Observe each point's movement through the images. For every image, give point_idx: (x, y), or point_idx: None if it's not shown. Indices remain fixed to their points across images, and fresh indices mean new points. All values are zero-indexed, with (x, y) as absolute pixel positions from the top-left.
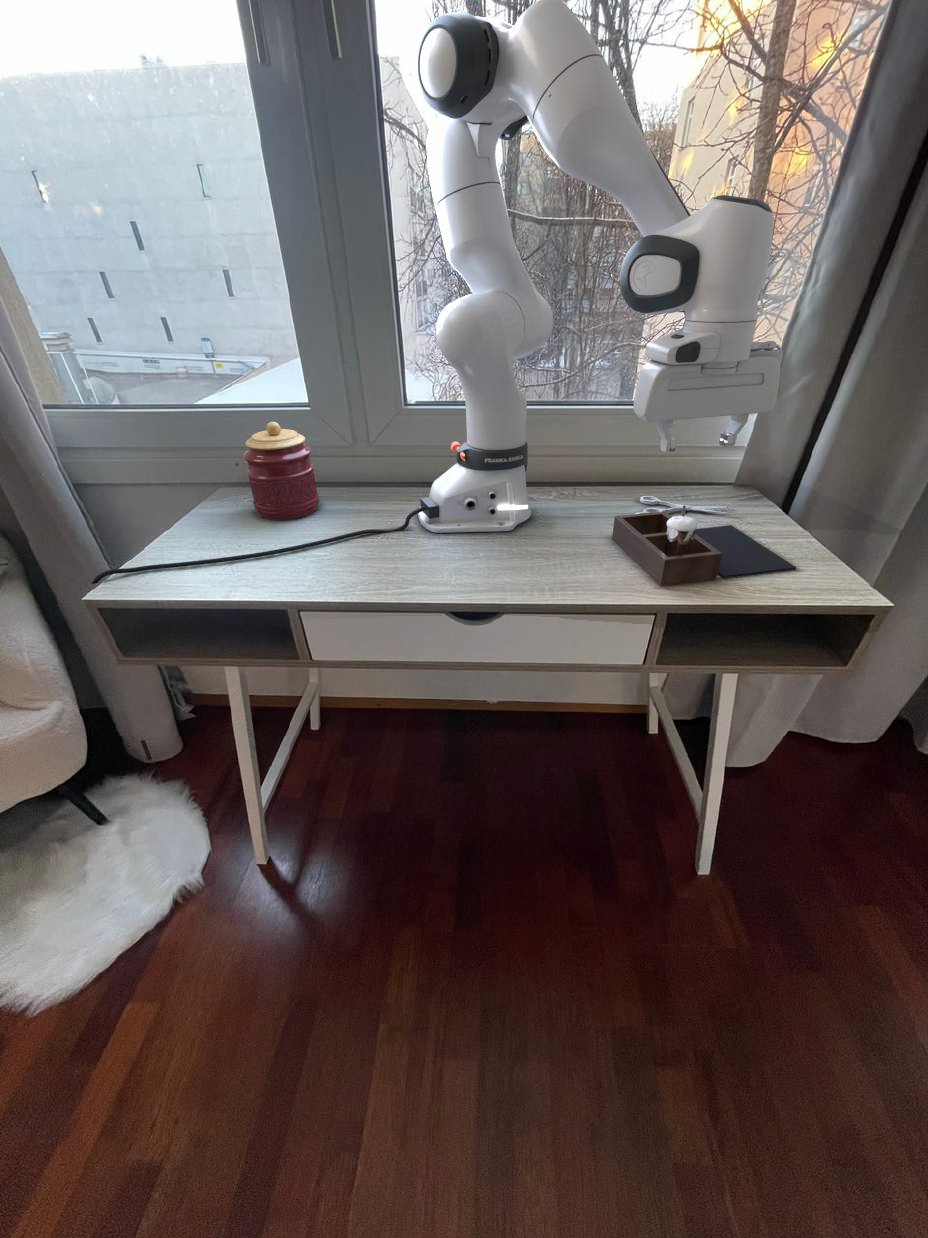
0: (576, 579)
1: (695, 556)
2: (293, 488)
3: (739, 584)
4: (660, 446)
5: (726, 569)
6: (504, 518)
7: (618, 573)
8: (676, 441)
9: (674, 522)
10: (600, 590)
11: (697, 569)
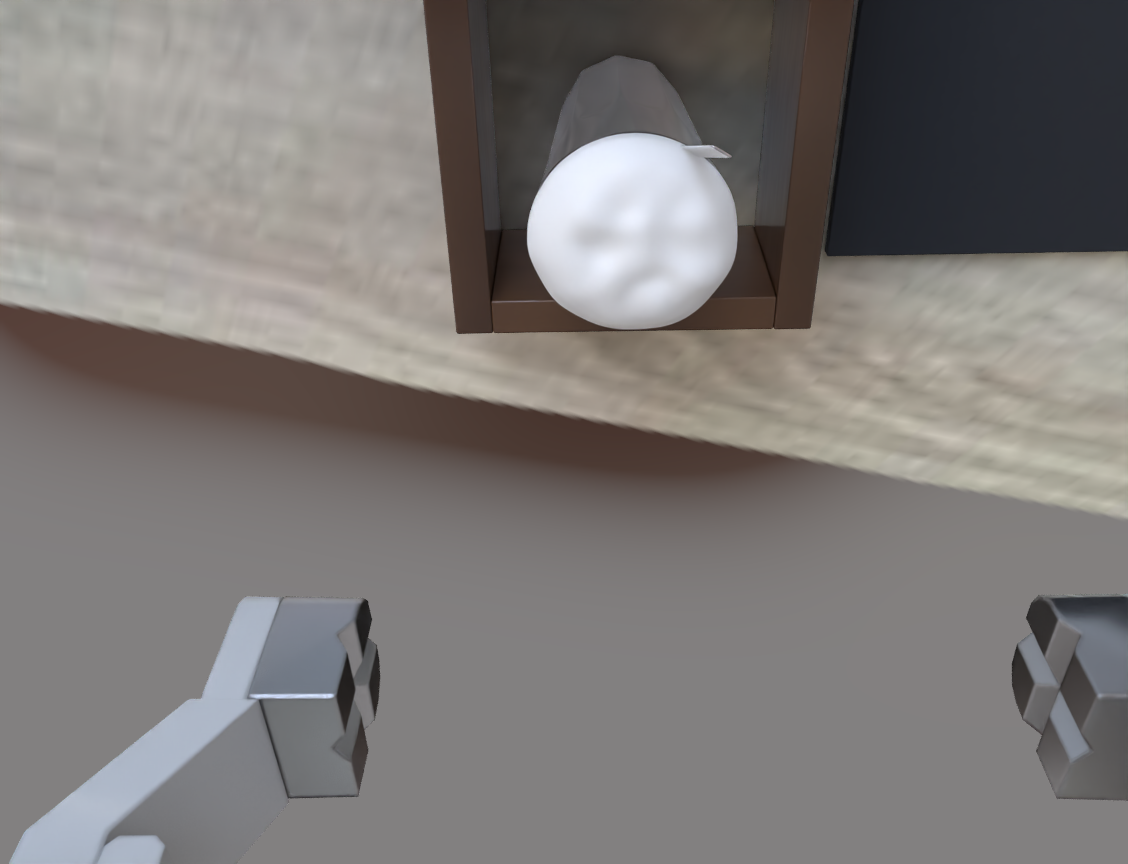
0: (40, 94)
1: (642, 329)
2: None
3: (857, 317)
4: (237, 610)
5: (894, 196)
6: None
7: (296, 76)
8: (361, 773)
9: (554, 277)
10: (158, 233)
11: None
